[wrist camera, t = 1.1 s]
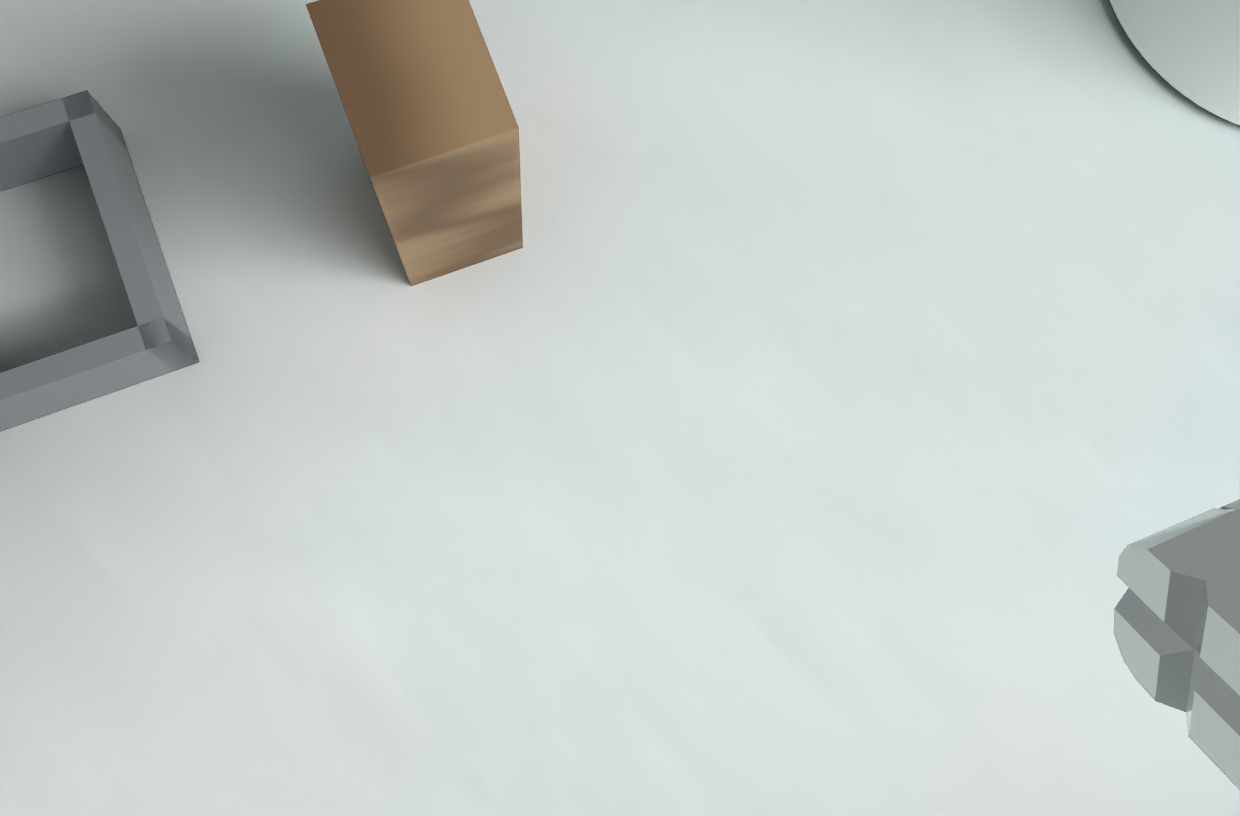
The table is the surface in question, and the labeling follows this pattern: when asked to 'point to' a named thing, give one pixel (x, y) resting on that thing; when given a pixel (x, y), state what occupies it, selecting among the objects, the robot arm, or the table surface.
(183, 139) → the table surface
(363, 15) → the brown rectangular block
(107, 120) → the grey l-shaped post
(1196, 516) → the robot arm
